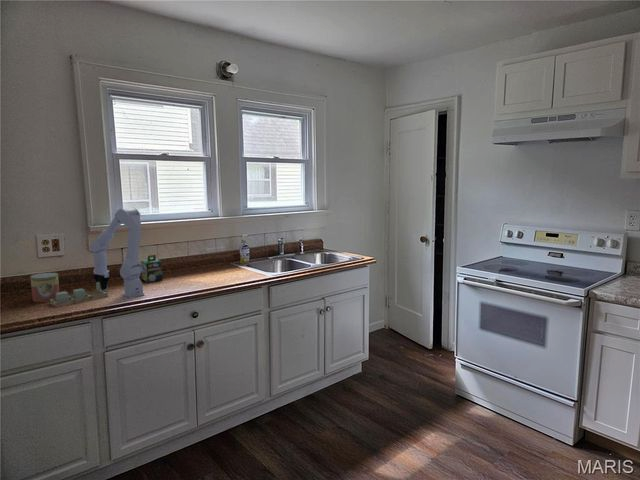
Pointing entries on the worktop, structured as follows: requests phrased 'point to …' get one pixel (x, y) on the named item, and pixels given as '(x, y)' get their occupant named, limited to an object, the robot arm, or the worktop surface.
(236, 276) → the worktop surface
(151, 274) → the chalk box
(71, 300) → the rack
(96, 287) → the loose block
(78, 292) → the seated block
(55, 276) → the canned food
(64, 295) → the seated block
